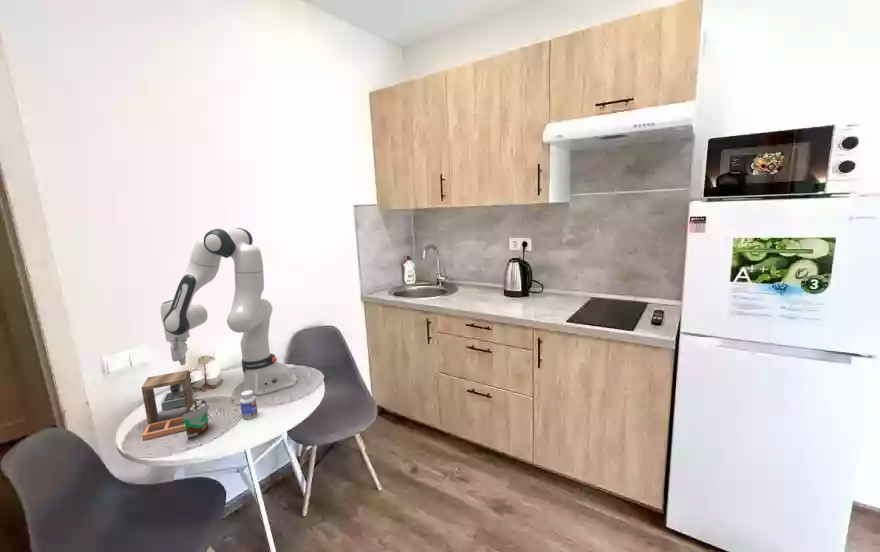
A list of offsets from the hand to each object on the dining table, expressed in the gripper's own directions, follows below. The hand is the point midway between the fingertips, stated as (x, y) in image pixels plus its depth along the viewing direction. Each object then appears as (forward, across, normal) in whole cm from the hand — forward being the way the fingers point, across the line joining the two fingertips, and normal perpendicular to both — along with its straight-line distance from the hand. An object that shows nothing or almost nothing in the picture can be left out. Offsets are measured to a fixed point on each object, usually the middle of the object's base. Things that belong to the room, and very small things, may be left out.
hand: (183, 364), depth 174 cm
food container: (+12, -47, -10) cm, 49 cm away
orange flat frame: (+11, -40, +1) cm, 42 cm away
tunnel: (+11, -30, +1) cm, 32 cm away
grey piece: (+10, -9, +1) cm, 14 cm away
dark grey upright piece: (+11, -18, +1) cm, 21 cm away
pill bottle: (+13, -44, -26) cm, 53 cm away
